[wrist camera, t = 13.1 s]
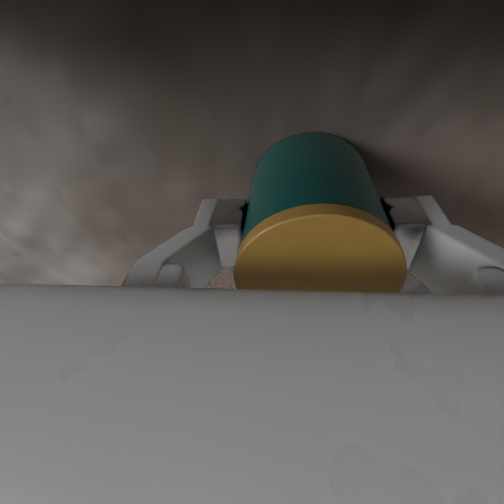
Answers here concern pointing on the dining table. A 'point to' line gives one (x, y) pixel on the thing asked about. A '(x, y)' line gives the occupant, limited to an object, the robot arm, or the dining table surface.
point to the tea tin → (317, 222)
